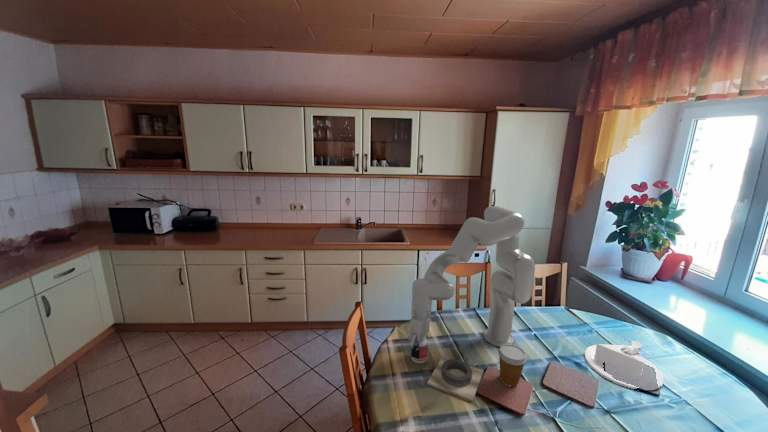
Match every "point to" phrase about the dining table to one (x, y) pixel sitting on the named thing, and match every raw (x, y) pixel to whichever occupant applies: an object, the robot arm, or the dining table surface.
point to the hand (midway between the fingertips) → (419, 351)
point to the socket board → (456, 378)
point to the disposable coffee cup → (511, 363)
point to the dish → (619, 361)
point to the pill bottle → (421, 352)
